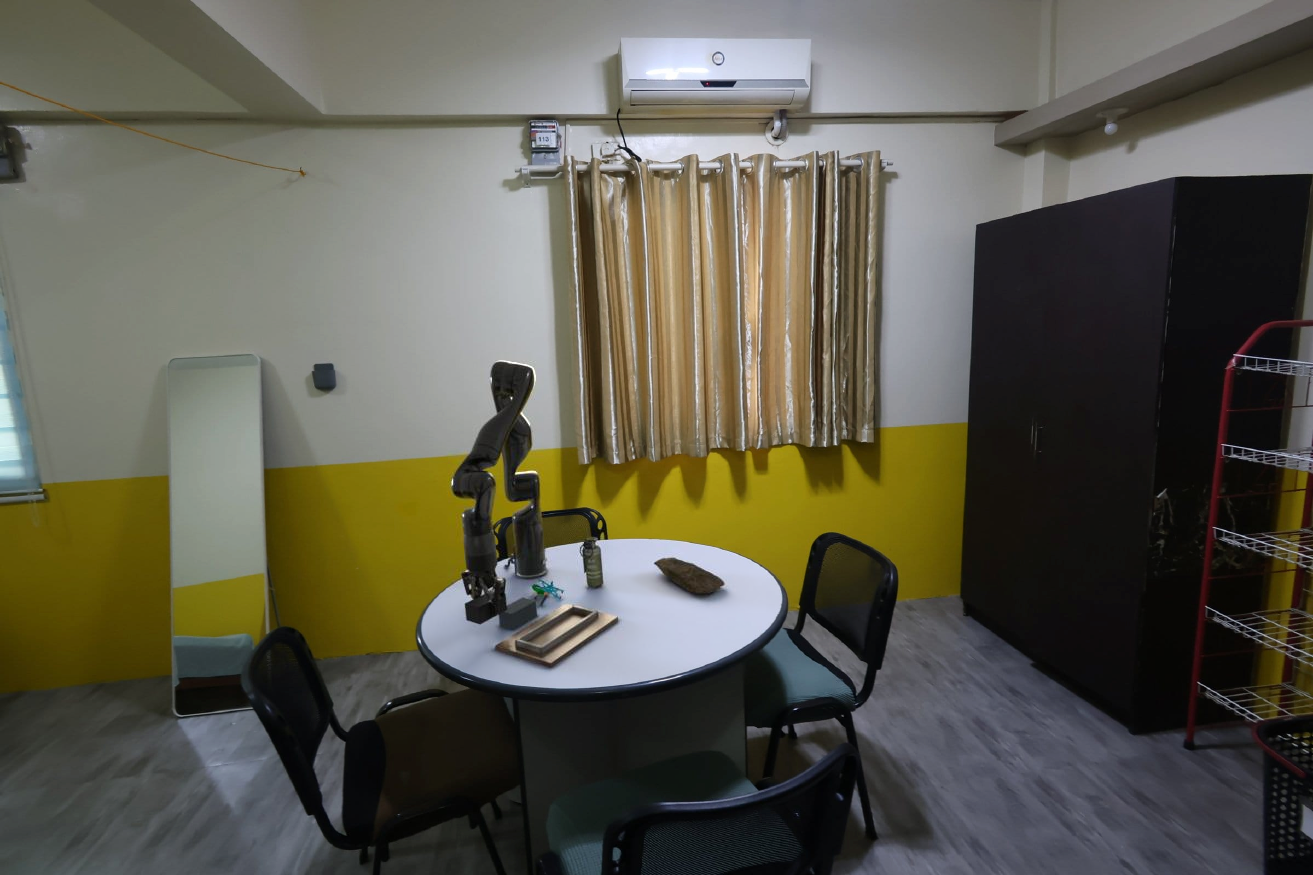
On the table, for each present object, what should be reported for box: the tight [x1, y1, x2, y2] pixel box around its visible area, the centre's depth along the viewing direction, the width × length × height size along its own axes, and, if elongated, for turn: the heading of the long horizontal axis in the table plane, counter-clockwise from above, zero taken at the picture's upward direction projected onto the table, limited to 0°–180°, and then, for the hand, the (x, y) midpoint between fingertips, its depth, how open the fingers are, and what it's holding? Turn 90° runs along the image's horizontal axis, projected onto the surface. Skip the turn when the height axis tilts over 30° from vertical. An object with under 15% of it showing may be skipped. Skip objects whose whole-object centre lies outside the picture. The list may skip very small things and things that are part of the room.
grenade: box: [579, 536, 604, 589], centre depth 182 cm, size 6×6×15 cm
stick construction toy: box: [531, 578, 565, 607], centre depth 175 cm, size 12×7×8 cm
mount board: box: [494, 603, 619, 669], centre depth 154 cm, size 18×26×3 cm
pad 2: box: [498, 596, 538, 631], centre depth 163 cm, size 5×9×4 cm, turn 148°
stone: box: [653, 557, 726, 594], centre depth 183 cm, size 11×27×6 cm, turn 34°
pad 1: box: [464, 592, 508, 625], centre depth 154 cm, size 5×9×4 cm, turn 147°
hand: (486, 613), depth 154 cm, fingers closed on pad 1, 5 cm apart
